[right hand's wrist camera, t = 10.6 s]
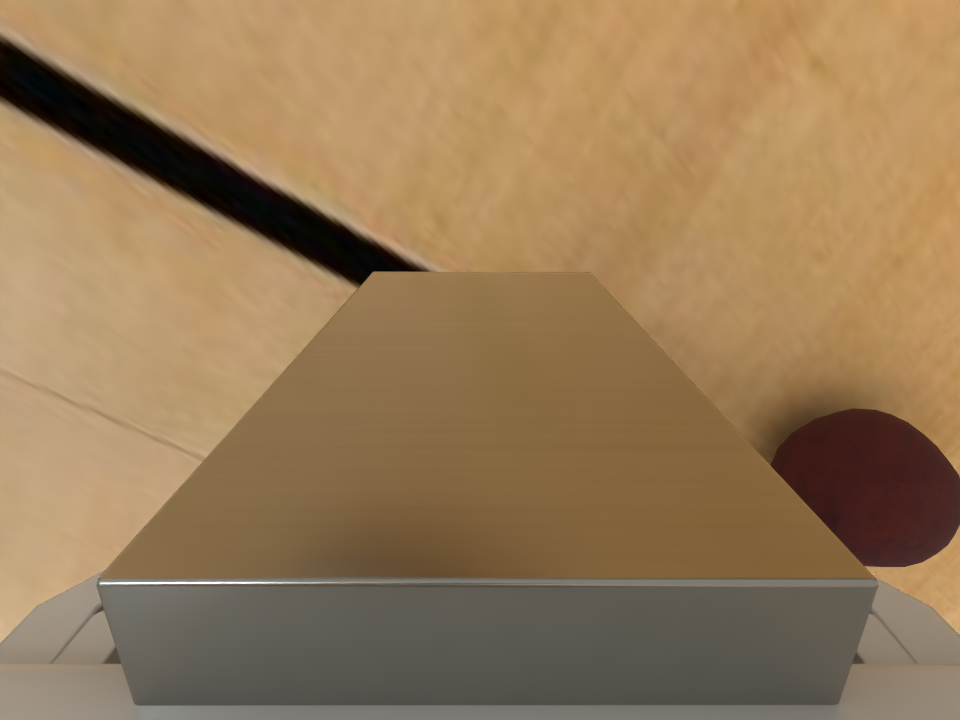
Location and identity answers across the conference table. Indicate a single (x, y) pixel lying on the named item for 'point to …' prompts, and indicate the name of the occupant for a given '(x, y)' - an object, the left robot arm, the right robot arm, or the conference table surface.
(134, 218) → the conference table surface
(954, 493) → the potato
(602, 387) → the box
